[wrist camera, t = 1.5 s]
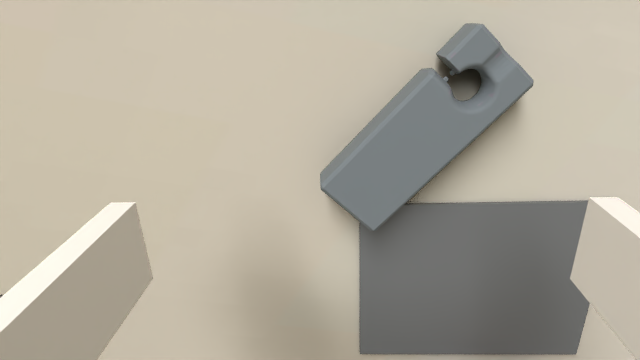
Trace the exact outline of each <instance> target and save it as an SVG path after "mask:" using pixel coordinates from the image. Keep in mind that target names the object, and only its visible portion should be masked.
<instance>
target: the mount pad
mask: <svg viewBox="0 0 640 360" xmlns="http://www.w3.org/2000/svg"><path fill="white" fill-rule="evenodd" d="M587 205H588V201H536V202H476V203H417V204H404V205H403V206H402V207H401V208H400V209H399V210H398V211H397V212H396V213H395V214H393V215H392V216H391V217H390V218H389V219H388V220H387V221H386V222H385V223H384V224H383V225H382V226H380V227H379V228H378V229H377V230H376V231H370V230H369V229H368V228H367V227H366V226H364V225H363V224H362V223H361V222H360V354H576V353H577V349H578V346H579V342H580V338H581V334H582V330H583V327H584V323H585V319H586V315H587V311H588V308H589V304H590V303H589V302H588V300H587V299H586V298H585V297H584V295H583V294H582V293H581V292H580V290H579V289H578V288H577V287H576V286H575V284H574V283H573V282H572V281H571V279H570V276H571V272H572V268H573V264H574V260H575V255H576V251H577V247H578V243H579V239H580V234H581V230H582V226H583V222H584V217H585V213H586V209H587Z"/></svg>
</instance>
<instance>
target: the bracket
mask: <svg viewBox="0 0 640 360" xmlns="http://www.w3.org/2000/svg"><path fill="white" fill-rule="evenodd" d="M436 55H437V56H438V57H439V58H440V59H441V60H442V61H443V63H444V64H445V65H446V66H448V67H449V68H450V69H451V71H450V75H455V74H456V73H458V74H459V73H461V72H462V71H464V70H466V69H475V70H477V71H478V72H479V74H480V76H481V85H480V88H479V90H478V92H477V93H476V94H475V95H474V96H473V97H472V98H471V99H469V100H466V101H459V100H457V99H455V98H454V96H453V93H452V90H451V87H450V86H449V84H448V83H447V82H448V80H449V79H448V77H444V78H442V77H441V76H440V75H439V74H438V73H437V72H436V71H435V70H434V69H432V68H427V69H421V70H420V71H419V72H418V73H417V74H416V75H415V76H414V77H413V78H412V79H411V80H410V81H409V82H408V83H407V84H406V85H405V86H404V87H403V88H402V90H401V91H400V92H399V93H398V94H397V95H396V96H395V97H394V98H393V99H392V100H391V101H390V102H389V103H388V104H387V105H386V106H385V107H384V108H383V109H382V110H381V111H380V112H379V113H378V114H377V115H376V116H375V117H374V118H373V119H372V120H371V121H370V122H369V124H368V125H367V126H366V127H365V128H364V129H363V130H362V131H361V132H360V133H359V134H358V135H357V136H356V137H355V138H354V139H353V140H352V141H351V142H350V143H349V144H348V145H347V146H346V147H345V148H344V149H343V150H342V151H341V152H340V153H339V154H338V155H337V156H336V158H335V159H334V160H333V161H332V162H331V163H330V164H329V165H328V166H327V167H326V168H325V169H324V170H323V171H322V172H321V174H320V183H321V190H322V191H323V192H325V193H326V194H327V195H328V196H329V197H331V198H332V199H333V200H334V201H335V202H337V203H338V204H339V205H340V206H341V207H343V208H344V209H345V210H346V211H347V212H349V213H350V214H351V215H352V216H353V217H355V218H356V219H357V220H358V221H359V222H361V223H362V224H363V225H364V226H366V227H367V228H368V229H369V230H370V231H376V230H377V229H378V228H379V227H380V226H382V225H383V224H384V223H385V222H386V221H387V220H388V219H389V218H390V217H391V216H392V215H393V214H395V213H396V212H397V211H398V210H399V209H400V208H401V207H402V206H403V205H404V204H405V203H407V202H408V201H409V200H410V199H411V198H412V197H413V196H414V195H415V194H416V193H417V192H418V191H420V190H421V189H422V188H423V187H424V186H425V185H426V184H427V183H428V182H429V181H430V180H431V179H433V178H434V177H435V176H436V175H437V174H438V173H439V172H440V171H441V170H442V169H443V168H444V167H446V166H447V165H448V164H449V163H450V162H451V161H452V160H453V159H454V158H455V157H456V156H457V155H459V154H460V153H461V152H462V151H463V150H464V149H465V148H466V147H467V146H468V145H469V144H470V143H472V142H473V141H474V140H475V139H476V138H477V137H478V136H479V135H480V134H481V133H482V132H484V131H485V130H486V129H487V128H488V127H489V126H490V125H491V124H492V123H493V122H494V121H495V120H497V119H498V118H499V117H500V116H501V115H502V114H503V113H504V112H505V111H506V110H507V109H508V108H510V107H511V106H512V105H513V104H514V103H515V102H516V101H517V100H518V99H519V98H520V97H521V96H523V95H524V94H525V93H526V92H527V91H528V90H529V89H530V88H531V87H532V86H533V79H532V78H531V77H530V76H529V75H528V74H527V72H526V71H525V70H524V69H523V68H522V67H521V66H520V65H519V64H518V63H517V62H516V61H515V60H514V59H513V58H512V57H511V56H510V55H509V54H508V53H507V52H506V51H505V50H504V49H503V47H502V46H501V44H500V42H499V41H498V40H497V39H496V38H495V37H494V36H493V35H492V34H491V32H490V31H489V30H488V29H487V28H486V27H485V26H484V25H483V24H473V23H470V24H465V25H464V26H463V27H462V28H461V29H460V30H459V31H458V32H457V33H456V34H455V35H454V36H453V37H452V38H451V39H450V40H449V41H448V42H447V43H446V44H445V45H444V46H443V47H442V48H441V49H440V50H439V51H438V52H437V53H436Z"/></svg>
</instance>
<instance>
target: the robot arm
mask: <svg viewBox="0 0 640 360" xmlns="http://www.w3.org/2000/svg"><path fill="white" fill-rule="evenodd" d="M152 279H153V276H152V272H151V267H150V263H149V259H148V255H147V250H146V246H145V242H144V237H143V233H142V229H141V225H140V220H139V216H138V212H137V208H136V203H135V202H122V203H110V204H108V205H107V206H106V207H105V208H104V209H103V210H102V211H100V212H99V213H98V214H97V215H96V216H95V217H93V218H92V219H91V220H90V221H89V222H88V223H86V224H85V225H84V226H83V227H82V228H81V229H80V230H78V231H77V232H76V233H75V234H74V235H73V236H71V237H70V238H69V239H68V240H67V241H66V242H64V243H63V244H62V245H61V246H60V247H59V248H58V249H56V250H55V251H54V252H53V253H52V254H51V255H49V256H48V257H47V258H46V259H45V260H44V261H42V262H41V263H40V264H39V265H38V266H37V267H35V268H34V269H33V270H32V271H31V272H30V273H29V274H27V275H26V276H25V277H24V278H23V279H22V280H20V281H19V282H18V283H17V284H16V285H15V286H13V287H12V288H11V289H10V290H9V291H8V292H7V293H5V294H4V295H0V360H97V359H98V358H99V356H100V355H101V353H102V352H103V350H104V349H105V347H106V346H107V345H108V343H109V342H110V340H111V339H112V337H113V336H114V334H115V333H116V331H117V330H118V329H119V327H120V326H121V324H122V323H123V321H124V320H125V318H126V317H127V315H128V314H129V313H130V311H131V310H132V308H133V307H134V305H135V304H136V302H137V301H138V299H139V298H140V297H141V295H142V294H143V292H144V291H145V289H146V288H147V286H148V285H149V284H150V282H151V281H152ZM570 279H571V281H572V282H573V283H574V284H575V286H576V287H577V288H578V289H579V290H580V292H581V293H582V294H583V295H584V297H585V298H586V299H587V300H588V302H589V303H590V304H591V305H592V306H593V308H594V309H595V310H596V311H597V313H598V314H599V315H600V316H601V318H602V319H603V320H604V321H605V322H606V324H607V325H608V326H609V327H610V329H611V330H612V331H613V332H614V333H615V335H616V336H617V337H618V338H619V340H620V341H621V342H622V343H623V345H624V346H625V347H626V348H627V349H628V351H629V352H630V353H631V354H632V356H633V357H634V358H635V359H636V360H640V213H639V212H638V211H636V210H635V209H634V208H632V207H631V206H629V205H628V204H627V203H625V202H624V201H622V200H621V199H620V198H618V197H589V201H588V205H587V209H586V213H585V217H584V222H583V226H582V230H581V234H580V239H579V243H578V247H577V251H576V255H575V260H574V264H573V268H572V272H571V276H570Z"/></svg>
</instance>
